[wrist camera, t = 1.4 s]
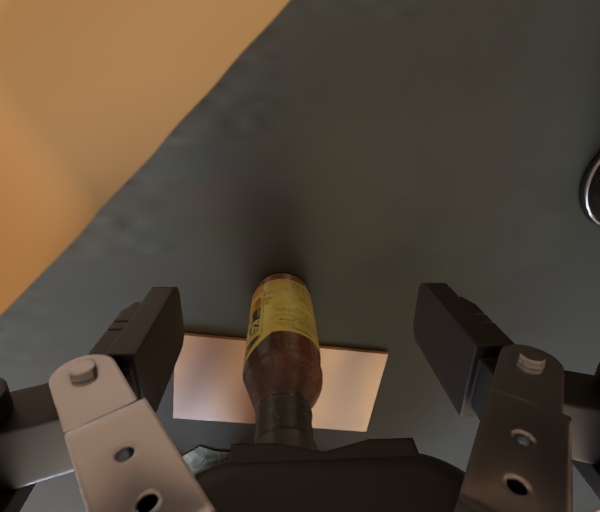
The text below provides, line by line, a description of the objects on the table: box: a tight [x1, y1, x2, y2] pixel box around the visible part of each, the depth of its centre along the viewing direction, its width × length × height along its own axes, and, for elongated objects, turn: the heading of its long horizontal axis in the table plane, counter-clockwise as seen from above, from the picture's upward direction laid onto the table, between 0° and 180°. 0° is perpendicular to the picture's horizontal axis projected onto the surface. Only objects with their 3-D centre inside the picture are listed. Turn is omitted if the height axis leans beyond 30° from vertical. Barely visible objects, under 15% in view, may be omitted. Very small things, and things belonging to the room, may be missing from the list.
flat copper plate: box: [173, 333, 388, 432], centre depth 43 cm, size 24×12×1 cm, turn 82°
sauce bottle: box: [243, 273, 323, 450], centre depth 30 cm, size 6×6×20 cm
